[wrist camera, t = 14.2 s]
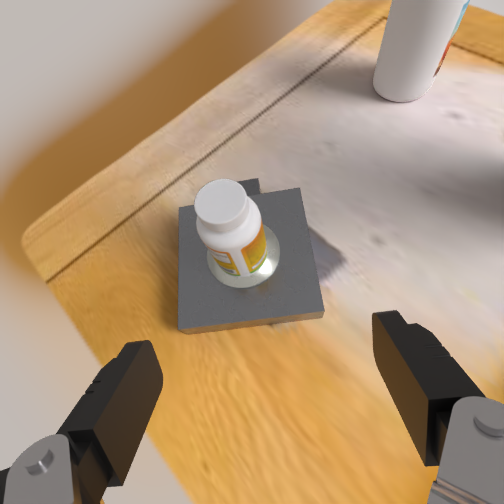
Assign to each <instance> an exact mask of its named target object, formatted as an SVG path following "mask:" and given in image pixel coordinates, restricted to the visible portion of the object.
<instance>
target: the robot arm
mask: <svg viewBox="0 0 504 504" xmlns="http://www.w3.org/2000/svg"><path fill="white" fill-rule="evenodd" d="M372 332H373V352H374V358H375V361H376V365H377V367H378V369H379V372H380V374H381V376H382V378H383V380H384V382H385V384H386V386H387V388H388V390H389V392H390V395H391V397H392V399H393V401H394V403H395V405H396V407H397V409H398V411H399V413H400V415H401V417H402V420H403V422H404V424H405V426H406V428H407V430H408V432H409V434H410V436H411V438H412V440H413V443H414V445H415V447H416V449H417V451H418V453H419V455H420V457H421V459H422V461H423V463H424V465H425V466H439V470H438V474H437V478H436V481H433V484H432V487H431V490H430V494H429V498H428V502H427V504H504V404H502V403H500V402H497V401H495V400H492V399H488V398H486V397H485V395H484V394H483V393H482V392H481V391H480V389H479V388H478V387H477V386H476V385H475V383H474V382H473V381H472V380H471V379H470V377H469V376H468V375H467V374H466V373H465V371H464V370H463V369H462V368H461V367H460V365H459V364H458V363H457V362H456V361H455V359H454V358H453V357H451V356H450V354H449V352H448V351H447V350H446V349H445V348H444V347H442V344H441V343H440V342H439V340H438V339H437V338H436V337H435V336H434V334H433V333H432V332H430V331H429V330H427V329H425V328H424V327H422V326H421V325H419V324H417V323H415V324H407V323H406V321H405V320H404V319H403V317H402V316H401V315H400V313H399V312H398V311H397V310H393V311H385V312H376V313H373V314H372ZM162 386H163V374H162V370H161V367H160V365H159V362H158V359H157V356H156V354H155V351H154V348H153V346H152V343H151V342H150V341H149V340H143V341H135V342H128V343H126V344H125V346H124V347H123V349H122V350H121V352H120V353H119V355H118V356H117V358H113V359H112V360H111V361H110V362H109V363H108V364H106V365H105V366H104V367H103V368H102V369H101V370H100V371H99V373H98V374H97V376H96V377H95V379H94V380H93V383H92V384H90V386H89V387H88V389H87V390H86V391H85V394H84V395H83V396H82V397H81V399H80V400H79V401H78V403H77V404H76V406H75V407H74V409H73V410H72V412H71V413H70V414H69V416H68V417H67V419H66V420H65V422H64V423H63V425H62V426H61V427H60V429H59V430H58V432H57V433H56V434H55V435H51V436H48V437H45V438H43V439H41V440H39V441H37V442H36V443H34V444H33V445H32V446H30V447H29V448H28V449H26V450H25V451H24V452H23V453H22V454H21V455H20V456H19V457H18V458H17V459H16V461H15V462H14V463H13V465H12V466H11V467H10V468H7V469H5V470H2V471H0V504H104V501H103V499H102V496H103V494H104V492H105V490H106V488H107V487H115V486H123V483H124V481H125V479H126V476H127V474H128V471H129V469H130V466H131V464H132V462H133V459H134V457H135V454H136V452H137V449H138V447H139V444H140V441H141V439H142V437H143V434H144V432H145V430H146V427H147V425H148V422H149V420H150V417H151V415H152V412H153V410H154V407H155V405H156V402H157V400H158V398H159V395H160V393H161V390H162Z"/></svg>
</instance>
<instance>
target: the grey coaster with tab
mask: <svg viewBox="0 0 504 504" xmlns="http://www.w3.org/2000/svg"><path fill="white" fill-rule="evenodd" d="M238 183H239V184H240V185H241V186H242V187H243V188H244V190H245V192H246V194H247V196H248V197H249V198H251V199H252V200H253V201H254V202H255V204H256V205H257V207H258V209H259V212H260V215H261V219H262V223H263V228H264V233H265V238H266V243H267V249H268V253H267V258H266V261H265V263H264V265H263V266H262V267H261V268H260V269H259V270H258V271H257V272H256V273H254V274H252V275H250V276H246V277H234V276H230V275H228V274H226V273H225V272H224V271H223V270H222V269H221V268H220V267H219V266H218V264H217V263H216V261H215V260H214V258H213V257H212V255H211V254H210V252H209V250H208V249H207V247H206V246H205V244H204V243H203V241H202V240H201V238H200V236H199V234H198V231H197V227H196V220H197V214H196V212H195V208H194V205H191V206H185V207H179V259H178V330H179V331H181V332H184V333H186V334H188V335H189V334H197V333H205V332H213V331H221V330H229V329H237V328H245V327H253V326H261V325H269V324H277V323H285V322H293V321H301V320H309V319H317V318H322V317H323V314H324V312H325V310H324V305H323V300H322V295H321V291H320V286H319V281H318V276H317V271H316V266H315V261H314V256H313V251H312V246H311V241H310V236H309V231H308V226H307V221H306V216H305V211H304V206H303V201H302V196H301V191H300V188H294V189H288V190H282V191H276V192H270V193H264V194H261V191H260V185H259V180H258V178H256V179H250V180H244V181H239V182H238Z"/></svg>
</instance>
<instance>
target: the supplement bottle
mask: <svg viewBox="0 0 504 504" xmlns="http://www.w3.org/2000/svg"><path fill="white" fill-rule="evenodd" d="M194 208H195V212H196V214H197V220H196V227H197V231H198V234H199V236H200V238H201V240H202V241H203V243H204V244H205V246H206V247H207V249H208V250H209V252H210V254H211V255H212V257H213V258H214V260H215V261H216V263H217V264H218V266H219V267H220V268H221V269H222V270H223V271H224V272H225V273H226V274H228V275H230V276H234V277H246V276H250V275H252V274H254V273H256V272H257V271H258V270H259V269H260V268H261V267H262V266H263V265H264V263H265V261H266V258H267V253H268V249H267V243H266V238H265V233H264V228H263V223H262V219H261V215H260V212H259V209H258V207H257V205H256V204H255V202H254V201H253V200H252V199H251V198H249V197H248V196H247V194H246V192H245V190H244V188H243V187H242V186H241V185H240V184H239V183H238V182H236V181H233V180H230V179H218V180H214V181H211V182H209V183H208V184H206V185H205V186H203V187H202V188H201V189H200V190H199V192H198V193H197V195H196V197H195V201H194Z"/></svg>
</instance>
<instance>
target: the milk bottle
mask: <svg viewBox="0 0 504 504" xmlns="http://www.w3.org/2000/svg"><path fill="white" fill-rule="evenodd" d="M469 1H470V0H392V4H391V7H390V11H389V15H388V19H387V23H386V27H385V31H384V35H383V39H382V43H381V47H380V51H379V55H378V60H377V64H376V68H375V72H374V77H373V85H374V89H375V90H376V92H377V93H378V94H379V95H380V96H382V97H383V98H385V99H387V100H391V101H395V102H409V101H413V100H416V99H418V98H420V97H422V96H423V95H425V94H426V93H427V92H428V91H429V90H430V88H431V86H432V84H433V82H434V80H435V78H436V76H437V73H438V71H439V69H440V67H441V65H442V62H443V60H444V58H445V56H446V53H447V51H448V49H449V47H450V44H451V42H452V40H453V38H454V35H455V33H456V31H457V29H458V26H459V24H460V22H461V19H462V17H463V15H464V13H465V10H466V8H467V6H468V3H469Z"/></svg>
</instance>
